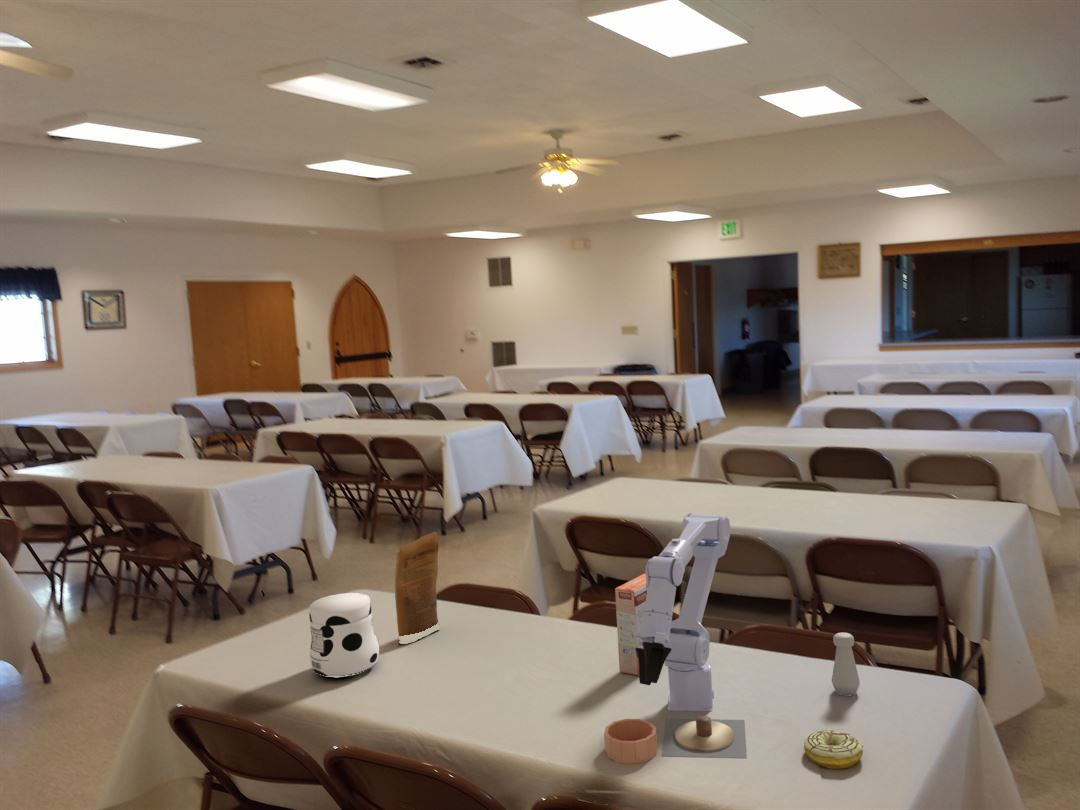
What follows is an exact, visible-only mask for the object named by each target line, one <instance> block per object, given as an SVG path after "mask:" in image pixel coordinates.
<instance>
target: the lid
mask: <svg viewBox="0 0 1080 810" xmlns="http://www.w3.org/2000/svg"><path fill="white" fill-rule="evenodd" d="M695 719H696V721H692V722H688V723H685V724H683V725H681V726H679V727H678V728H677V729H676V731H675V739H676V741H677V743H678V744H679V745H681V746H682V747H684V748H687V749H690V750H695V751H716V750H720V749H724V748H726V747H728V746H729V745H731V744H732V743H733V741H734V732H733V730H732V729H731V728H730V727H729V726H727V725H725V724H723V723H720V722H716V721H711V719H712V717H710V716H707V715H700V716H696V717H695Z"/></svg>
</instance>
